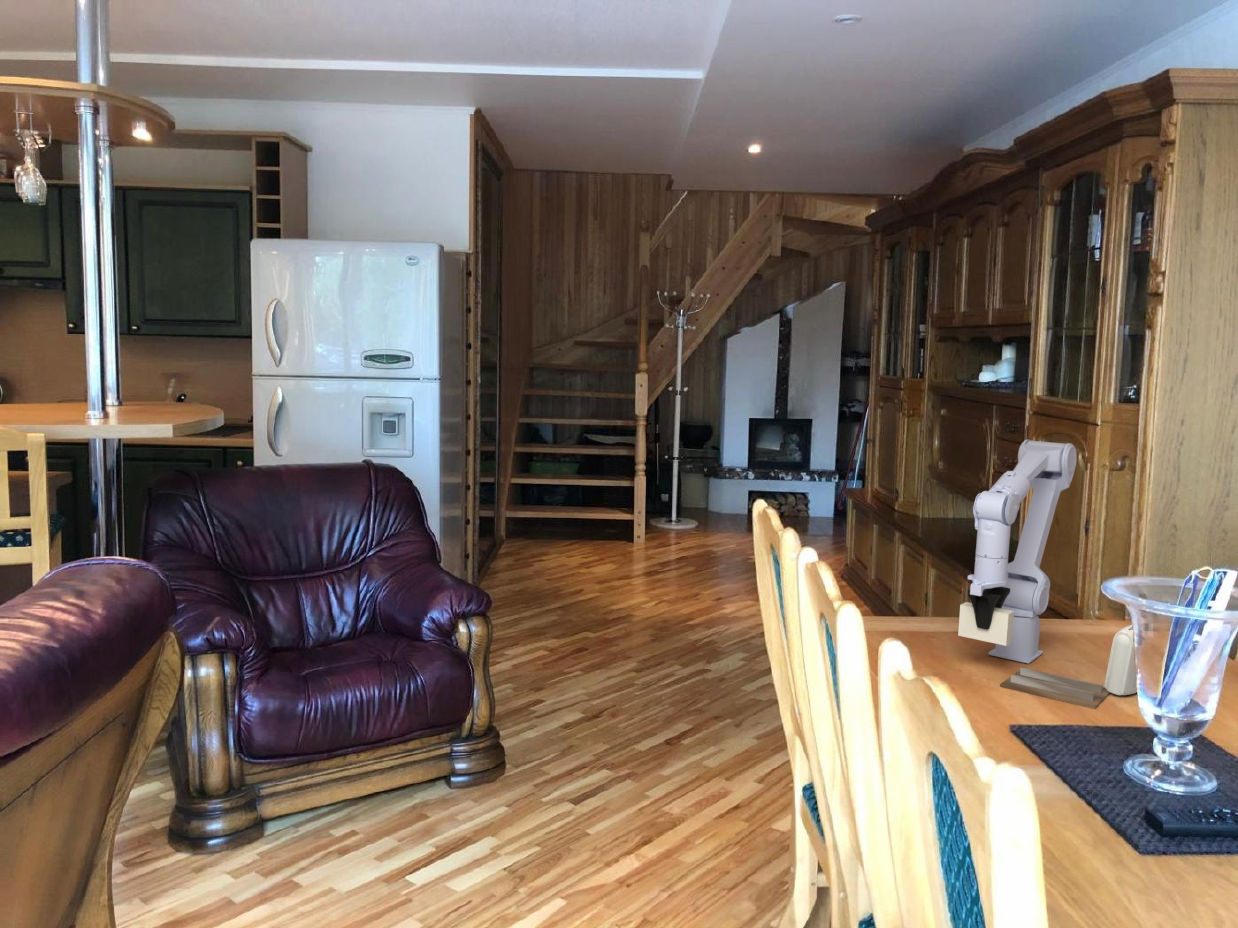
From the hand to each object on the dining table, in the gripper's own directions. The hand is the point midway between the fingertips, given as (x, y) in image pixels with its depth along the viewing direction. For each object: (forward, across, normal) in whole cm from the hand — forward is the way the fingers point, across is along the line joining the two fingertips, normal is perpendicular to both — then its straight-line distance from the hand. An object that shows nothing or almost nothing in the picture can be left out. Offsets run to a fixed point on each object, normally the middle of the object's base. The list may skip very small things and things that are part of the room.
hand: (986, 626), depth 184 cm
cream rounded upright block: (+9, -8, +23) cm, 26 cm away
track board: (+9, 0, +13) cm, 16 cm away
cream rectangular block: (+2, 0, 0) cm, 3 cm away
